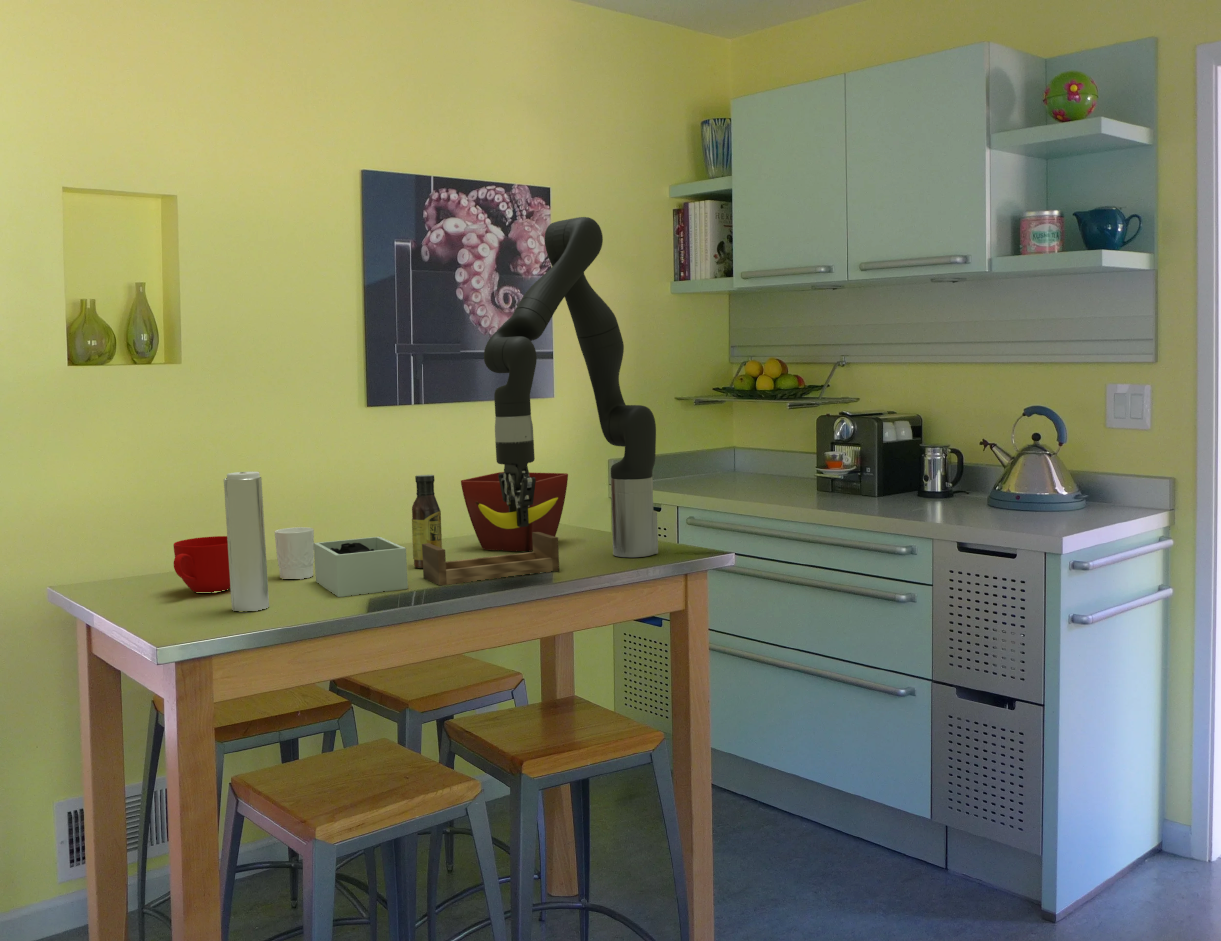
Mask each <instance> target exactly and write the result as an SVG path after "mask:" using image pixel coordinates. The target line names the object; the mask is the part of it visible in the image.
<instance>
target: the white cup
mask: <svg viewBox="0 0 1221 941" xmlns="http://www.w3.org/2000/svg"><path fill="white" fill-rule="evenodd" d="M314 531H315V529H314V528H313V527H309V526H308V527H304V526H303V527H301V526H300V527H297V526H296V527H286V528H280V529H276V530H274V538H275V539H274V540H275V550H276V558H277V566H278V569H279V570H278V571H279V579H280V578H283V579H300V580H304V578H307V579H310V577H311V578H313V577H314V564H315V557H314V543H315V541H314V540H315V539H314V538H315V535H314V534H315V532H314ZM312 576H313V577H312ZM283 579H282V580H283Z"/></svg>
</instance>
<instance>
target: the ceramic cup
mask: <svg viewBox="0 0 1221 941" xmlns="http://www.w3.org/2000/svg"><path fill="white" fill-rule="evenodd" d="M173 553H174V559H173V568H174V572H175V574H176V575H177V576H178V577H179V578H181V580H182V581H183V583H184V584H185V585H186V586H187V587H188V588H189V589H190V590H191V591H192V592H194V591H195V592H214V591H222V590H227V589H229V590H230V589H231V588H230V572H229V556H228V540H227V535H222V536H221V535H219V536H217V535H215V536H204V537H201V536H200V537H195V538H187V539H182V540H179V541H176V542H174V543H173Z"/></svg>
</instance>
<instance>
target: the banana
mask: <svg viewBox="0 0 1221 941" xmlns="http://www.w3.org/2000/svg"><path fill="white" fill-rule="evenodd" d="M557 499H558V498H553V499H551V500H548V501H546V502H544V503H541V504H539V505H537V506H534V507H531V508H528V519H529V523H531V522H533V521H535V520H537V519H539V518H541V517H542V516H544V515H545V514H546V513H547V512H548V511H549V510H550V509H551V508H552V507H553V506H554V504H555V503H556V501H557ZM475 503H476V504H477V505H478V507H479V509H480V511H481V512H482V514H483V515H484V516H485V517H486V518H487V519H488V520H489V521H490V522H491V523H493V524H494V525H496V526H498V527H500V528H505V529H514V528H518V526H517V513H516V512H509V513H499V512H496V511H494V510H492V509H490V508H488V507H487V506H485V505H482V504H479V502H477V501H476V502H475Z"/></svg>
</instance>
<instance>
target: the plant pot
mask: <svg viewBox="0 0 1221 941" xmlns="http://www.w3.org/2000/svg"><path fill="white" fill-rule="evenodd" d="M499 473H504V471H499V472H495V473H490V474H484V475H480V476H475V477H471V478H466V479H462V480H460V485H461V489H462V495H463V499H464V503H465V506H466V510H467V512H468V517H469V518H470V522H471V525H472V527H473V531H474V533H475V535H476V538H477V540H478V543H479V544H480V547H481V548H482V550H485V551H486V550H487V551H499V550H503V551H502V552H517V551H529V552H533V551H532V550H533V541H532V532H541V533H544V534H548V535H551V536H555V537H557V536H556V535H557V533H558V529H559V525H560V522H561V518H562V515H563V511H564V507H565V506H564V505H565V500H566V494H567V487H568V479H569V473H567V472H566V473H565V472H563V473H559V472H530V471H529V477H535V479H536V483H535V491H534V500H533V505H530V506H529V507H528V508H531V507H534V506H537V505H539V504H541V503H544V502H546V501H548V500H551V499H553V498H558V499H557V501H556V503H555V504H554V506H553V507H552V508H551V509H550V510H549V511H548V512H547V513H546V514H545V515H544V516H542V517H541V518H539V519H537V520H535V521H533V522H531V523H529V525H528V526H527V527H518V528H514V529H505V528H500V527H498V526H496V525H494V524H493V523H491V522H490V521H489V520H488V519H487V518H486V517H485V516H484V515H483V514H482V512H481V511H480V509H479V507H478V505H477V504H476V503H475V502H476V501H477V502H479V504H482V505H485V506H487V507H488V508H490V509H492V510H494V511H496V512H499V513H509V506H507V503H506V502H504V501H503V497H502V492H501V487H500V482H499V477H498V475H499ZM506 495H507V494H506Z"/></svg>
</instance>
